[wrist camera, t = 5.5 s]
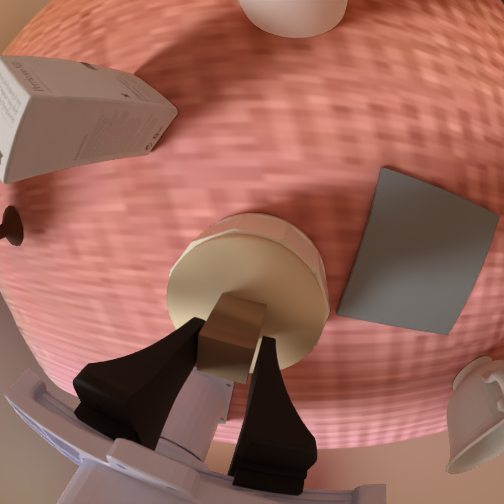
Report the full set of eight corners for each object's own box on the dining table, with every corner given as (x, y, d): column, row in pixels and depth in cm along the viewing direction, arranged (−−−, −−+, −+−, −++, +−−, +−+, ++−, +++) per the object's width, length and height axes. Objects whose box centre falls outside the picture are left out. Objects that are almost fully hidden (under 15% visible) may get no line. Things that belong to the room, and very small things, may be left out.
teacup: (516, 290, 15) (570, 352, 6) (507, 377, 19) (533, 431, 10) (417, 350, 20) (447, 440, 10) (431, 420, 23) (444, 483, 14)
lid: (299, 377, 18) (293, 429, 13) (172, 343, 19) (143, 385, 15) (345, 256, 14) (359, 302, 10) (175, 217, 15) (129, 245, 11)
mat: (445, 331, 18) (447, 335, 18) (336, 311, 20) (336, 314, 19) (496, 214, 14) (499, 215, 14) (381, 166, 15) (383, 167, 15)
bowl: (304, 346, 21) (301, 381, 18) (188, 316, 23) (168, 345, 19) (343, 232, 17) (352, 254, 14) (197, 199, 19) (171, 213, 15)
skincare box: (182, 109, 16) (35, 89, 5) (147, 159, 18) (4, 192, 7) (130, 71, 16) (-1, 46, 5) (101, 117, 17) (-28, 126, 6)
